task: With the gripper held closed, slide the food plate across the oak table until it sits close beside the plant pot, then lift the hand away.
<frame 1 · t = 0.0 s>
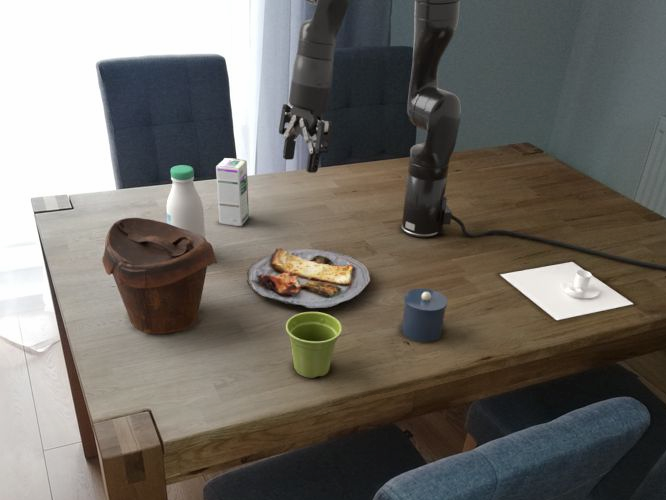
hand: (299, 165, 143), 22 cm above the table, tool pointing down, fingers open, 8 cm apart
plant pot: (312, 369, 124), on the table
sugar pot: (421, 331, 136), on the table
milk bottle: (188, 257, 156), on the table
syrup box: (233, 221, 173), on the table
food plate: (307, 284, 149), on the table
teacup and saucer: (564, 289, 153), on the table
brown covered bucket: (166, 318, 136), on the table
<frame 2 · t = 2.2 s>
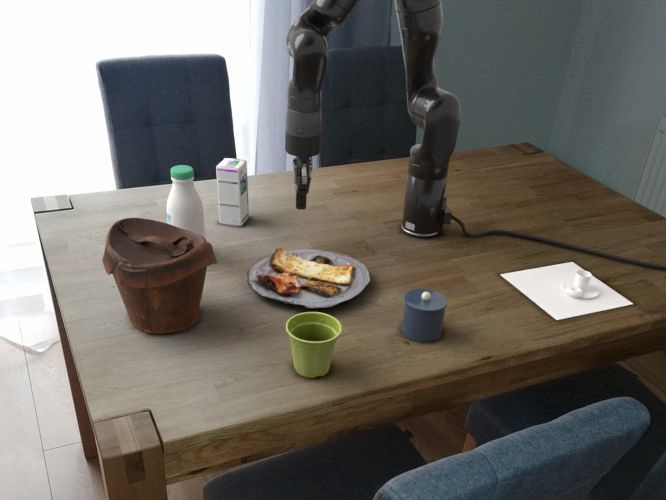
hand: (300, 207, 158), 9 cm above the table, tool pointing down, fingers closed
nothing on the table moved.
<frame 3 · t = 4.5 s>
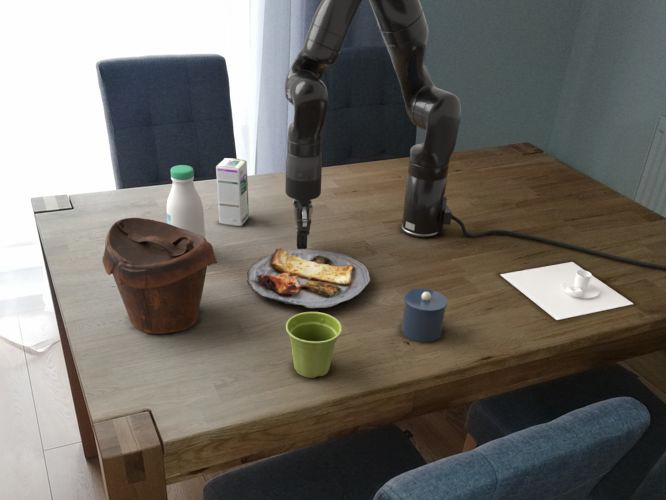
hand: (301, 247, 159), 2 cm above the table, tool pointing down, fingers closed
food plate: (307, 284, 149), on the table, touching gripper
everything else where it was.
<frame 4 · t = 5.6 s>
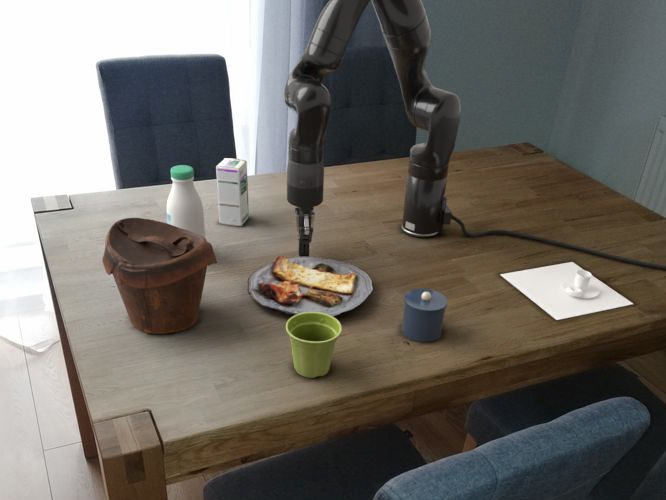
hand: (303, 255, 156), 2 cm above the table, tool pointing down, fingers closed
food plate: (309, 293, 146), on the table, touching gripper
everything else where it was.
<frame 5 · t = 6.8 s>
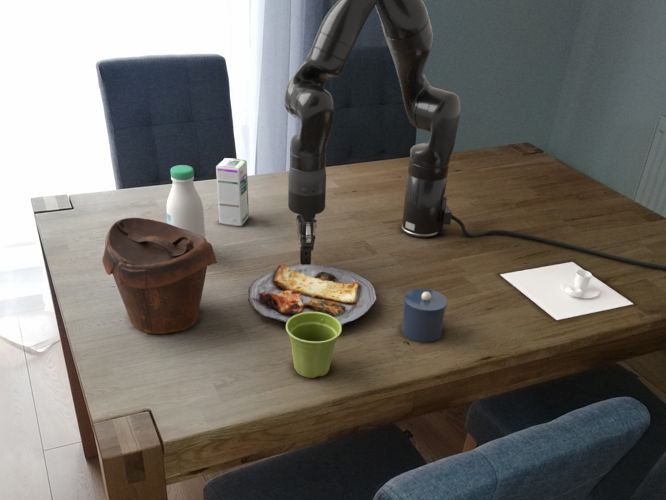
hand: (305, 263, 153), 2 cm above the table, tool pointing down, fingers closed
food plate: (311, 303, 143), on the table, touching gripper
everything else where it was.
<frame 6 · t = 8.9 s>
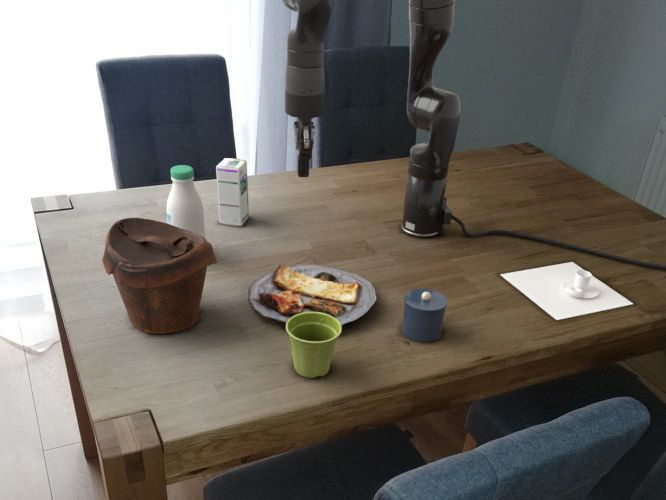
hand: (303, 175, 146), 20 cm above the table, tool pointing down, fingers closed
food plate: (311, 303, 143), on the table
everything else where it was.
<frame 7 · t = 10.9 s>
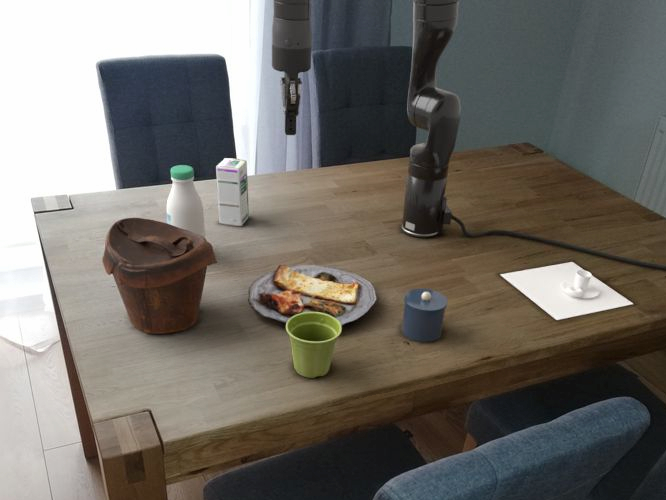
hand: (290, 133, 145), 27 cm above the table, tool pointing down, fingers closed
nothing on the table moved.
at the end: food plate 22.5 cm from the plant pot (horizontally); food plate moved 7.6 cm from its start; plant pot moved 0.2 cm from its start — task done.
